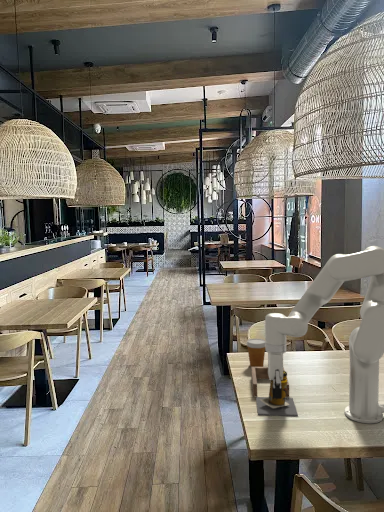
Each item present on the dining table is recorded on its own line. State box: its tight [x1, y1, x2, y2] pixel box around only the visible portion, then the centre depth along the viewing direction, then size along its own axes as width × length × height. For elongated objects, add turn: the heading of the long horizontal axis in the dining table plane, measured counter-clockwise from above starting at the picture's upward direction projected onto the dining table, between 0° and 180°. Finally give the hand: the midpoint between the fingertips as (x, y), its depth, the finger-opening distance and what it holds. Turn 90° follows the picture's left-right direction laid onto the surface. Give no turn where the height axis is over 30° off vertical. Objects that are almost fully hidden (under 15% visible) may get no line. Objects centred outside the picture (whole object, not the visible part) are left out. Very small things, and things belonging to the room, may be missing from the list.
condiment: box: [260, 369, 289, 408], centre depth 153 cm, size 7×8×12 cm
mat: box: [255, 396, 299, 417], centre depth 155 cm, size 14×14×1 cm
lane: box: [250, 366, 290, 398], centre depth 173 cm, size 14×20×5 cm
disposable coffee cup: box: [246, 338, 266, 368], centre depth 198 cm, size 10×10×12 cm
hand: (276, 393), depth 154 cm, fingers closed on condiment, 6 cm apart
